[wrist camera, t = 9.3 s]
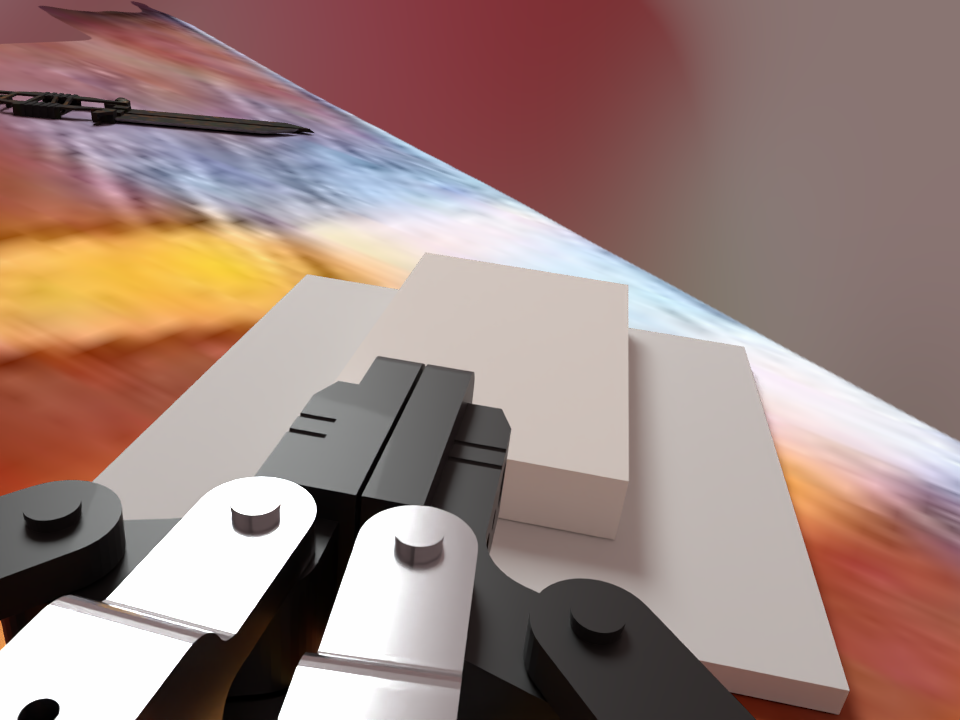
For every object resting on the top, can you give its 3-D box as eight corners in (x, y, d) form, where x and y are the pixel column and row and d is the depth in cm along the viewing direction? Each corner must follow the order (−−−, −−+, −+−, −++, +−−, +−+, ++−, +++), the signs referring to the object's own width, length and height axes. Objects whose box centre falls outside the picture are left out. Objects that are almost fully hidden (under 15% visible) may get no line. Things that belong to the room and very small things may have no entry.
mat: (49, 551, 21) (45, 527, 21) (306, 290, 38) (307, 274, 37) (838, 714, 19) (849, 690, 19) (739, 363, 36) (744, 346, 36)
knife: (316, 137, 68) (317, 120, 67) (300, 154, 62) (300, 136, 62) (11, 101, 67) (9, 84, 66) (-34, 116, 61) (-37, 97, 61)
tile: (306, 421, 23) (425, 252, 36) (305, 482, 23) (421, 295, 37) (628, 481, 22) (628, 285, 35) (614, 541, 23) (619, 328, 36)
